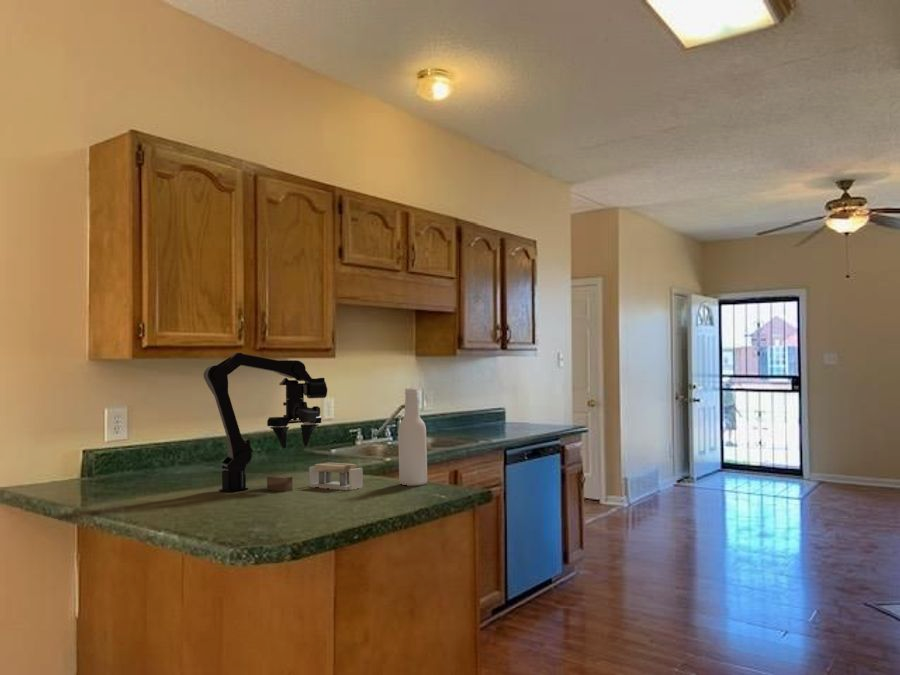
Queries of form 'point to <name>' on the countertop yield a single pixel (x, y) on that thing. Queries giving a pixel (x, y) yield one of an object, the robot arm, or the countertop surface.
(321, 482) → the peg frame
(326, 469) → the shelf board
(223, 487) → the robot arm
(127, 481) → the countertop surface
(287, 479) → the block
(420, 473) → the alcohol
